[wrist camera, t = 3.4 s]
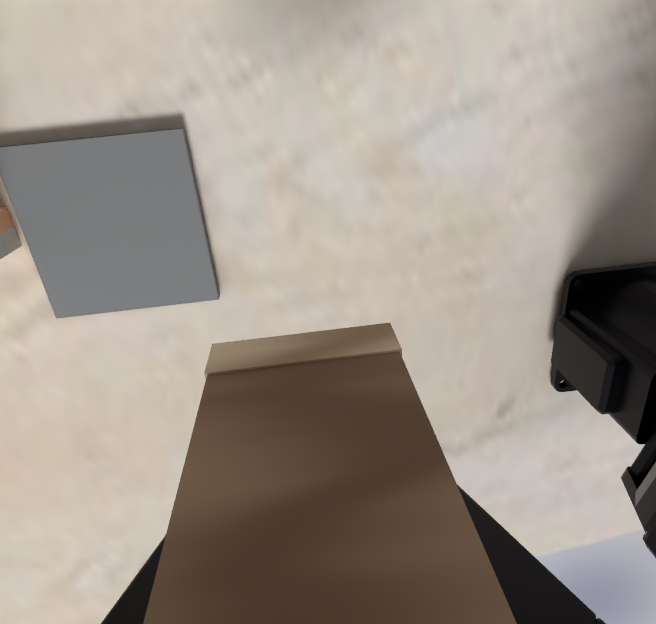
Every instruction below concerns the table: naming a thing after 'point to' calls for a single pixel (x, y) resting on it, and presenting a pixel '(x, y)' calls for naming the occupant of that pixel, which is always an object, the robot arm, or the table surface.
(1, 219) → the tile
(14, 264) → the table surface
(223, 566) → the wooden post stub
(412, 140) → the table surface
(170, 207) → the pad
